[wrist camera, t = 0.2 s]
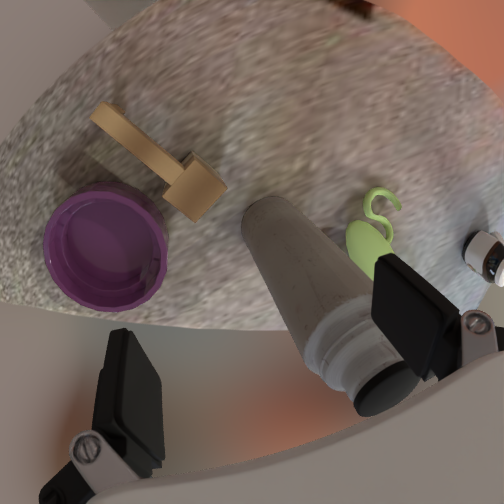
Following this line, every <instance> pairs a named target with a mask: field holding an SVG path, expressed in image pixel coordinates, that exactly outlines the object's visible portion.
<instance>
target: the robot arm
mask: <svg viewBox="0 0 504 504" xmlns="http://www.w3.org/2000/svg"><path fill="white" fill-rule="evenodd" d="M459 311H460V310H459V309H458V308H457V307H456V306H454V305H453V304H452V303H451V302H450V301H449V300H448V299H447V298H446V297H445V296H443V295H442V294H441V293H440V292H439V291H438V290H437V289H435V288H434V287H433V286H432V285H431V284H430V283H429V282H427V281H426V280H425V279H424V278H423V277H422V276H420V275H419V274H418V273H417V272H416V271H414V270H413V269H412V268H411V267H410V266H408V265H407V264H406V263H405V262H404V261H402V260H401V259H400V258H399V257H397V256H396V255H395V254H394V253H388V254H385V255H382V256H380V257H378V259H377V261H376V262H375V265H374V281H373V294H372V306H371V317H372V320H373V322H374V323H375V324H376V325H377V327H378V328H379V329H380V330H381V332H382V333H383V334H384V335H385V337H386V338H387V339H388V340H389V342H390V343H391V344H392V345H393V347H394V348H395V349H396V351H397V352H398V353H399V354H400V356H401V357H402V358H403V359H404V361H405V362H406V363H407V365H408V366H409V367H410V369H411V370H412V371H413V372H414V374H415V375H416V376H417V377H421V378H422V379H423V381H424V382H425V381H427V380H429V379H431V378H432V377H434V376H435V375H436V377H437V378H438V382H437V383H435V384H434V385H432V386H431V387H429V388H427V389H425V390H424V391H422V392H420V393H418V394H416V395H414V396H413V397H411V398H409V399H407V400H405V401H403V402H402V403H400V404H398V405H396V406H394V407H392V408H390V409H388V410H386V411H384V412H382V413H380V414H377V415H375V416H373V417H371V418H369V419H367V420H364V421H362V422H360V423H358V424H355V425H353V426H351V427H348V428H346V429H344V430H341V431H339V432H336V433H334V434H331V435H329V436H326V437H323V438H320V439H318V440H315V441H312V442H309V443H306V444H303V445H300V446H298V447H294V448H291V449H288V450H285V451H281V452H278V453H274V454H271V455H267V456H264V457H260V458H257V459H253V460H248V461H244V462H240V463H235V464H231V465H227V466H222V467H216V468H211V469H206V470H200V471H194V472H188V473H183V474H175V475H167V476H161V477H154V478H153V477H152V476H151V475H152V469H156V468H162V460H164V459H165V447H164V432H163V414H162V388H161V387H162V385H161V380H160V377H159V375H158V374H157V372H156V370H155V369H154V367H153V366H152V364H151V362H150V361H149V359H148V357H147V356H146V354H145V352H144V351H143V349H142V347H141V345H140V344H139V342H138V340H137V338H136V337H135V335H134V333H133V332H132V331H128V330H127V329H126V328H122V329H117V330H113V331H111V332H110V335H109V340H108V345H107V350H106V355H105V361H104V367H103V369H101V371H100V374H99V380H98V385H97V392H96V398H95V406H94V413H93V421H92V430H86V431H82V432H80V433H79V434H77V435H76V436H75V437H74V438H73V440H72V442H71V443H70V447H69V456H70V458H71V461H70V462H69V463H68V464H67V465H65V467H63V469H61V470H60V471H59V472H58V473H57V474H56V475H55V476H54V477H53V478H52V479H51V480H50V481H49V482H48V483H47V484H46V485H44V487H43V488H42V489H41V491H40V494H39V504H504V328H503V327H496V326H495V325H494V322H493V320H492V318H491V317H490V316H489V315H488V314H486V313H485V312H483V311H480V310H469V311H466V312H465V313H464V314H463V315H462V316H461V315H460V314H459Z"/></svg>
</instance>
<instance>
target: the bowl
mask: <svg viewBox="0 0 504 504" xmlns="http://www.w3.org/2000/svg"><path fill="white" fill-rule="evenodd" d="M168 241H169V235H168V232H167V228H166V224H165V221H164V218H163V216H162V215H161V213H160V212H159V210H158V209H157V207H156V206H155V204H154V202H153V201H152V200H150V199H149V198H148V197H147V196H145V195H144V194H143V193H142V192H140V191H139V190H138V189H136V188H133V187H131V186H128V185H125V184H123V183H120V182H101V181H100V182H96V183H93V184H90V185H87V186H84V187H82V188H80V189H79V190H77V191H76V192H75V193H74V194H72V195H71V196H70V197H69V198H68V199H66V200H65V201H64V202H63V203H62V204H61V205H60V206H59V207H58V208H57V209H56V210H55V211H54V213H53V215H52V216H51V218H50V220H49V222H48V224H47V225H46V229H45V234H44V240H43V250H44V257H45V263H46V266H47V268H48V270H49V272H50V274H51V276H52V278H53V280H54V282H55V283H56V284H57V285H58V286H59V288H60V289H61V290H62V291H63V292H64V293H65V294H66V295H67V296H68V297H70V298H71V299H73V300H74V301H76V302H77V303H79V304H80V305H82V306H85V307H88V308H91V309H94V310H97V311H103V312H121V311H126V310H130V309H134V308H136V307H138V306H139V305H141V304H143V303H145V302H146V301H148V300H149V299H150V298H151V297H152V296H153V295H154V294H155V292H156V291H157V290H158V289H159V288H160V287H161V284H162V282H163V279H164V277H165V274H166V272H167V261H168Z"/></svg>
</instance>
